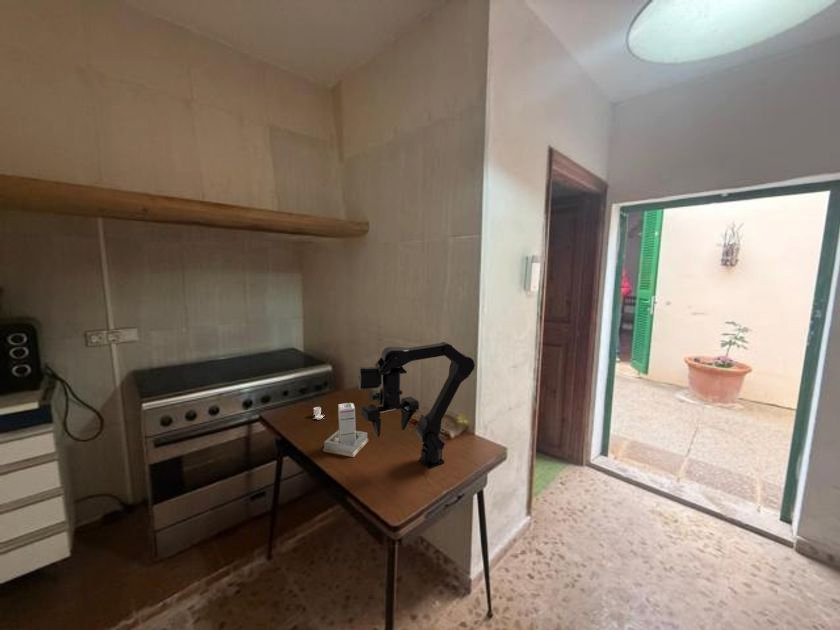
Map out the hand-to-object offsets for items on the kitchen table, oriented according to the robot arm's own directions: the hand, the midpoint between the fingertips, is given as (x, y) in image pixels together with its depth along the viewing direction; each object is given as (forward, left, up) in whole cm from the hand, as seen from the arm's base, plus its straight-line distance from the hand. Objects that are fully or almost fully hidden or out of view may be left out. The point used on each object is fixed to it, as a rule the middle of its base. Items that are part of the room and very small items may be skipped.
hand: (390, 433), depth 108 cm
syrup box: (+7, -21, -11) cm, 25 cm away
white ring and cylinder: (+11, -52, -13) cm, 55 cm away
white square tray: (+7, -21, -12) cm, 25 cm away
